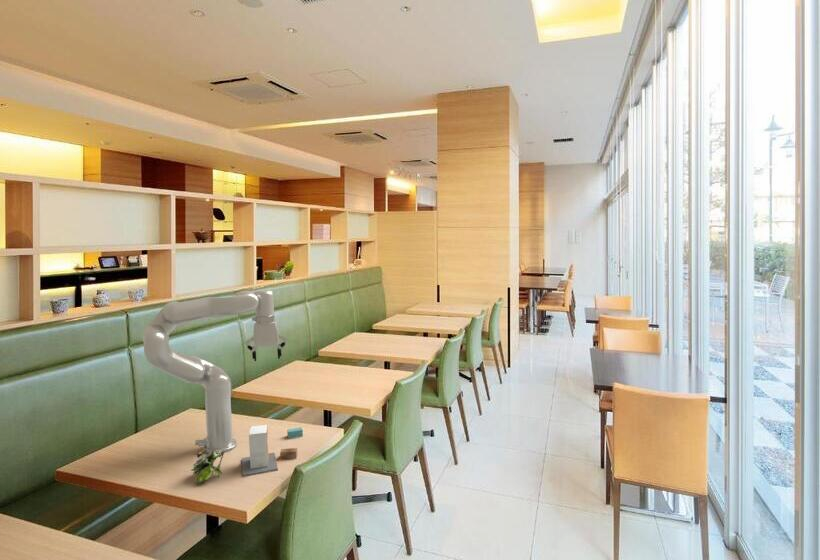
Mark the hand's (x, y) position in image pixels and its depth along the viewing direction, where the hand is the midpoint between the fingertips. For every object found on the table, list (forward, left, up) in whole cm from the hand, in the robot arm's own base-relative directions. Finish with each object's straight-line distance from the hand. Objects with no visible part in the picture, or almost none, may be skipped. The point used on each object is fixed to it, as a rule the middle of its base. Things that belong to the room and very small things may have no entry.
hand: (267, 359), depth 200 cm
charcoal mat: (-6, -26, -33) cm, 43 cm away
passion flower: (-23, -29, -34) cm, 50 cm away
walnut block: (+5, -24, -34) cm, 42 cm away
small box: (-6, -26, -33) cm, 43 cm away
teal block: (+10, -5, -34) cm, 35 cm away
